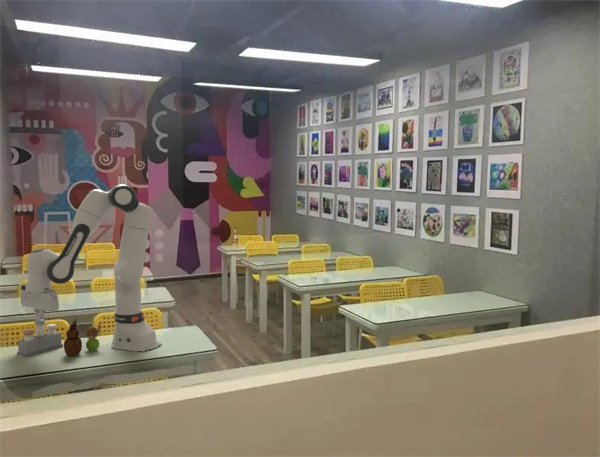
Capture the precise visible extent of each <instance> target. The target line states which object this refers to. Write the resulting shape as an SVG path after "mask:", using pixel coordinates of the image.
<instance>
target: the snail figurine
mask: <svg viewBox="0 0 600 457" xmlns="http://www.w3.org/2000/svg"><path fill="white" fill-rule="evenodd" d="M101 323H102V322H101V321H99V324H98V325H97V328H96V327H95V326H90V327H89V328H87V329H86V335H87V336H86V338H87V339H88V340H87V341H86V343H85V347H86V349H87V350H88V351H90V352H94V351H96V350H98V349H99V346H100V341H99V339H98V338H97V337H98V336H99V334H100V333H101V327H102V324H101Z"/></svg>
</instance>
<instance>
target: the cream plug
mask: <svg viewBox="0 0 600 457" xmlns="http://www.w3.org/2000/svg"><path fill="white" fill-rule="evenodd" d="M57 328H58V326H57V323H49V324H46V330H47V333H48V335H54V334H56V332H57V330H56V329H57Z"/></svg>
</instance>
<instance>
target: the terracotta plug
mask: <svg viewBox="0 0 600 457" xmlns="http://www.w3.org/2000/svg"><path fill="white" fill-rule="evenodd" d="M34 333H35V332H34V329H24V330H22V335H23V339H24V341H25V342H29V341H32V340H33V336H34V335H33V334H34Z"/></svg>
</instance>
